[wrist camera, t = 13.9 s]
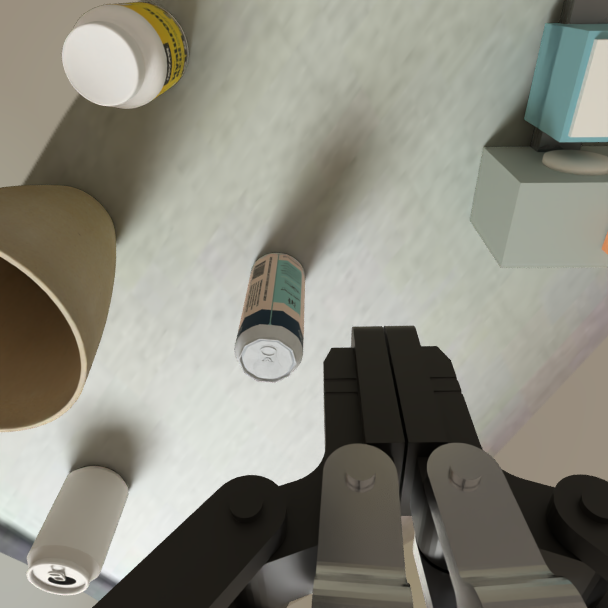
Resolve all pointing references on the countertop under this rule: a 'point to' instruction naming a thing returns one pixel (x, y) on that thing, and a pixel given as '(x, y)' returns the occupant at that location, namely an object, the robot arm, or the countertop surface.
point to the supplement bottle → (125, 54)
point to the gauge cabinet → (543, 206)
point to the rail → (576, 10)
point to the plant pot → (50, 298)
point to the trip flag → (605, 245)
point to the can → (77, 531)
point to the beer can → (272, 319)
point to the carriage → (571, 83)
